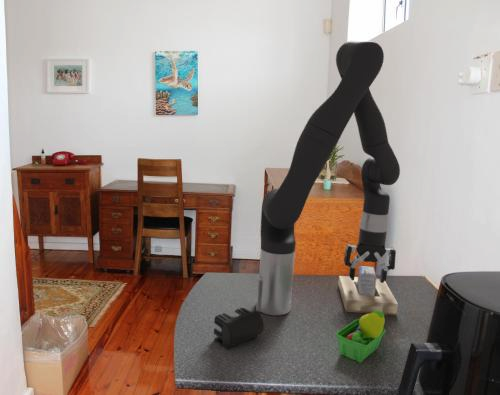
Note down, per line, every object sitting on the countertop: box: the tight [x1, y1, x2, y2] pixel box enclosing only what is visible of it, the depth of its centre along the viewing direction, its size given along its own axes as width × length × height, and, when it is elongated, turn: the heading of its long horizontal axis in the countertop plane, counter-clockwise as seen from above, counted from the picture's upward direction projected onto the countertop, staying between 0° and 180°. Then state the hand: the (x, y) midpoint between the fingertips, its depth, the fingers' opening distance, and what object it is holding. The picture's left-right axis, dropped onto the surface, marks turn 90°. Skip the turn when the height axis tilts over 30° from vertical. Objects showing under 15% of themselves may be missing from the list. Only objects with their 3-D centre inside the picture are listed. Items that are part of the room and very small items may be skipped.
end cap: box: [213, 307, 265, 349], centre depth 107 cm, size 10×7×7 cm
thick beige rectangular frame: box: [337, 275, 399, 317], centre depth 135 cm, size 14×18×4 cm
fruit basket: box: [335, 310, 387, 363], centre depth 105 cm, size 11×9×11 cm
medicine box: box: [357, 265, 377, 296], centre depth 134 cm, size 8×4×9 cm, turn 171°
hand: (366, 280), depth 134 cm, fingers open, 8 cm apart
